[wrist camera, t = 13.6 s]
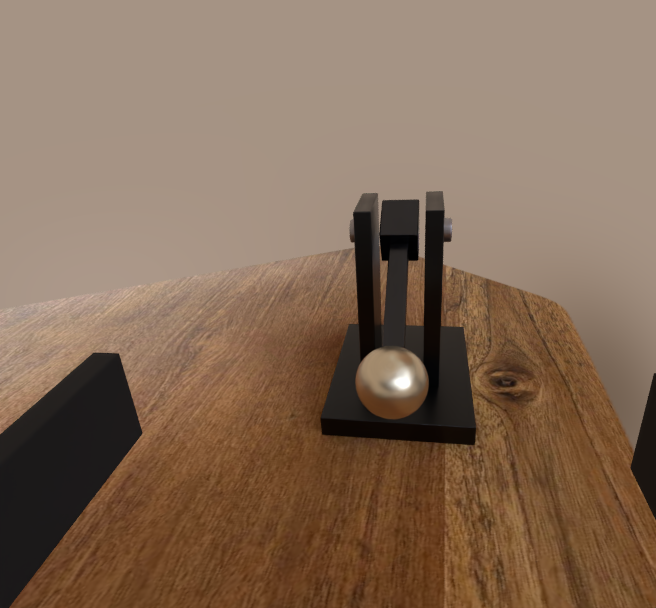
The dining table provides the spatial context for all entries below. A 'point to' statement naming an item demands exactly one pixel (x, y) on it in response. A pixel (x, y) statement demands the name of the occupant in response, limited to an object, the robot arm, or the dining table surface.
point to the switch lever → (395, 323)
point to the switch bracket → (424, 341)
